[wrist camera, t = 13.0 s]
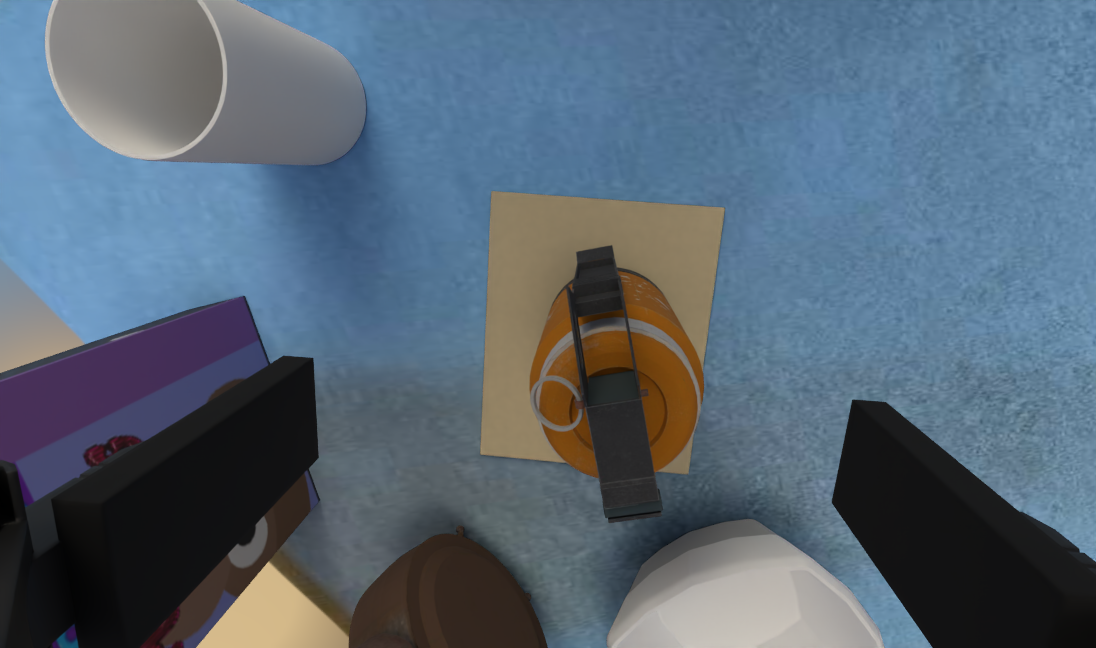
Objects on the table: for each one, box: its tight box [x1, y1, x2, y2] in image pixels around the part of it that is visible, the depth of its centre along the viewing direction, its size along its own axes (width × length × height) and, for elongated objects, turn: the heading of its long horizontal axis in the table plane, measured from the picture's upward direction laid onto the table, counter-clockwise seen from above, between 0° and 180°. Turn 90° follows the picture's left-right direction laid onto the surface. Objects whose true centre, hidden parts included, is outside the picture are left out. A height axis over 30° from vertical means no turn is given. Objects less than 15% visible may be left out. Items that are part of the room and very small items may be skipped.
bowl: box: [607, 519, 885, 648], centre depth 43 cm, size 18×18×9 cm
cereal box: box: [0, 296, 320, 648], centre depth 35 cm, size 17×5×24 cm, turn 14°
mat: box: [480, 191, 725, 475], centre depth 43 cm, size 20×16×1 cm
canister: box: [529, 245, 704, 523], centre depth 33 cm, size 9×11×20 cm
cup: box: [45, 0, 366, 165], centre depth 33 cm, size 8×8×16 cm
